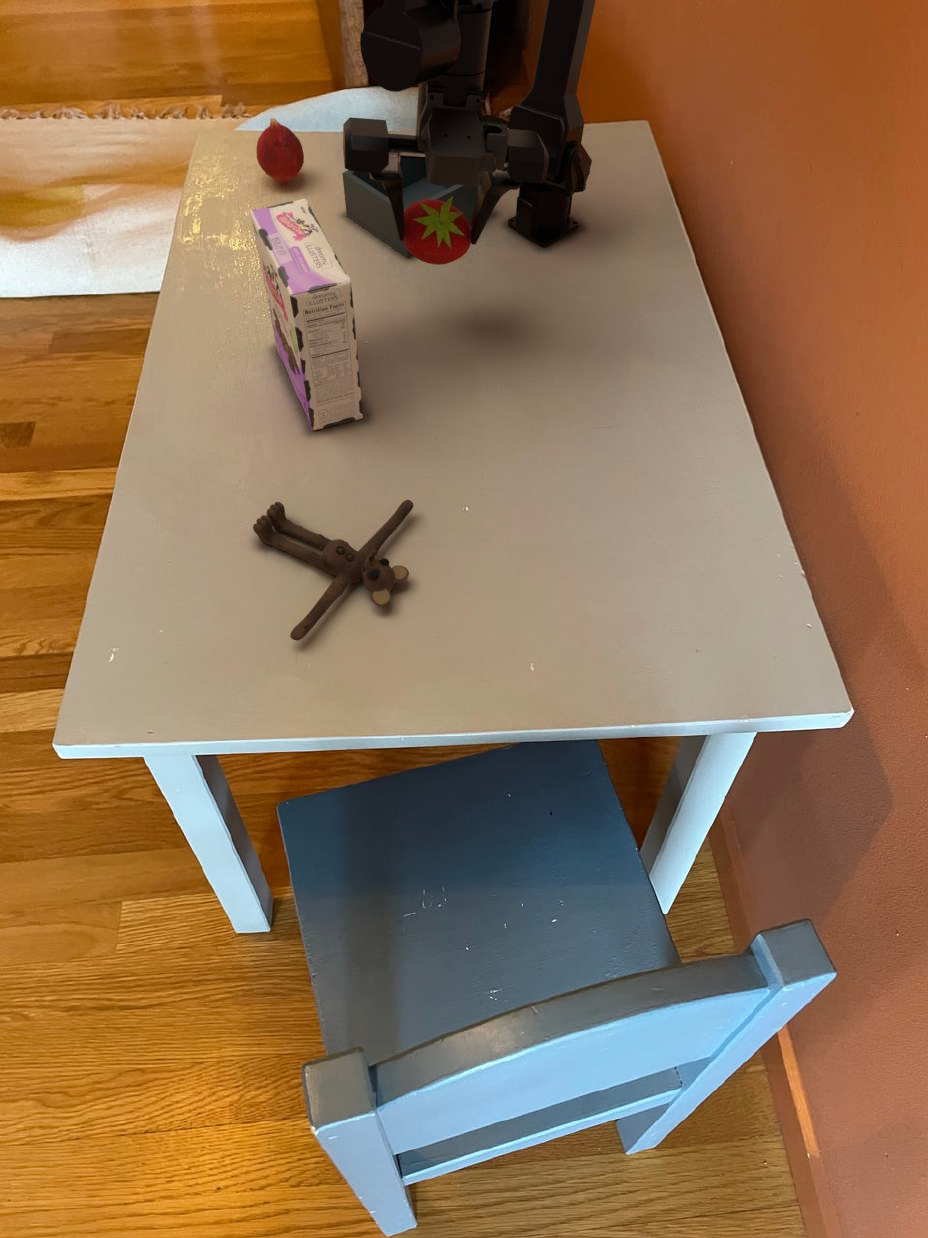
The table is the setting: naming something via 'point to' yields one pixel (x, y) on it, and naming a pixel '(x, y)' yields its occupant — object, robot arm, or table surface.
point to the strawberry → (436, 231)
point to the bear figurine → (337, 560)
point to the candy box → (310, 312)
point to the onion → (279, 152)
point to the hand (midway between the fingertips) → (437, 240)
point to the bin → (375, 209)
